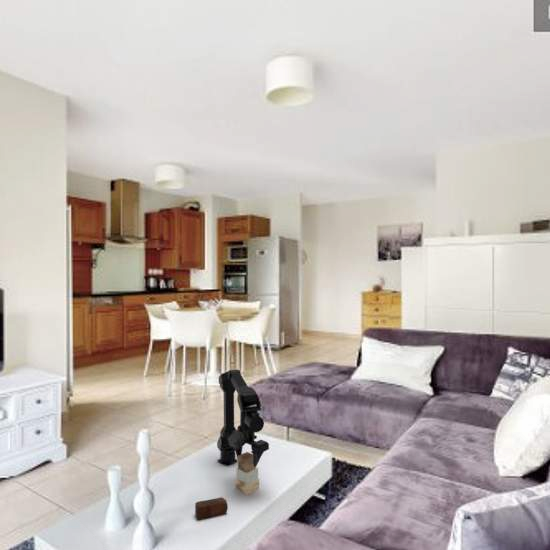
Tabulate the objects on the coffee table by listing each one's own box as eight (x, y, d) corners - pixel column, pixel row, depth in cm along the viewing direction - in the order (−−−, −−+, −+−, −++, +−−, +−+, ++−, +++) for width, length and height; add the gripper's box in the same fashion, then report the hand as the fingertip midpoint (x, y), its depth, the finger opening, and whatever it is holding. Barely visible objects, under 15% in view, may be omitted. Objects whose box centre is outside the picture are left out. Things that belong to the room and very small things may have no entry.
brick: (197, 521, 141) (197, 507, 141) (194, 515, 144) (195, 501, 144) (227, 514, 145) (227, 501, 145) (224, 508, 148) (224, 495, 148)
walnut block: (237, 468, 162) (237, 455, 162) (247, 464, 166) (247, 451, 166) (246, 472, 159) (246, 459, 159) (255, 468, 163) (255, 455, 163)
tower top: (236, 478, 162) (236, 468, 162) (247, 473, 167) (247, 463, 167) (247, 483, 158) (247, 473, 158) (258, 478, 163) (258, 468, 163)
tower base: (235, 489, 162) (235, 478, 162) (247, 483, 167) (247, 473, 167) (246, 495, 158) (246, 484, 158) (258, 488, 162) (258, 478, 162)
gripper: (216, 422, 163) (215, 462, 163) (249, 435, 150) (248, 478, 150) (237, 415, 171) (236, 453, 171) (270, 427, 158) (269, 468, 158)
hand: (246, 462), depth 162 cm, fingers open, 9 cm apart
